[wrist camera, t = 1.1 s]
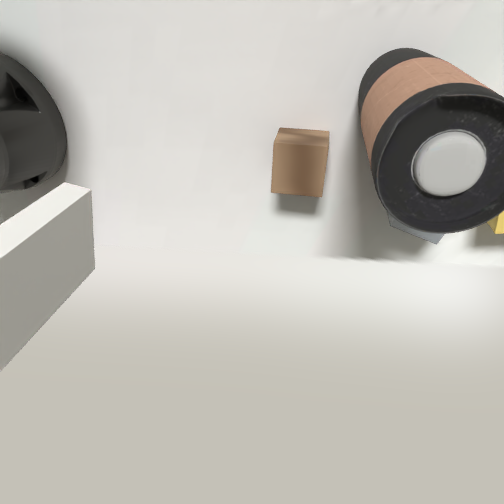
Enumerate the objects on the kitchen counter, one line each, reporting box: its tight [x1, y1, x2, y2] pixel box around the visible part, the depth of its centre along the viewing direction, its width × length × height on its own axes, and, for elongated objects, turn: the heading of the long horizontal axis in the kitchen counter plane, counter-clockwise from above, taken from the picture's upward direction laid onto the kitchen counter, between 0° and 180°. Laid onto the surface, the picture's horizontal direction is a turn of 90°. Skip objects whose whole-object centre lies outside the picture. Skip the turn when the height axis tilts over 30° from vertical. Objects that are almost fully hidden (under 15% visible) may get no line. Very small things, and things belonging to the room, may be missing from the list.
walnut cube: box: [271, 128, 329, 197], centre depth 39 cm, size 5×5×5 cm
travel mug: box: [359, 48, 504, 234], centre depth 28 cm, size 8×8×20 cm
